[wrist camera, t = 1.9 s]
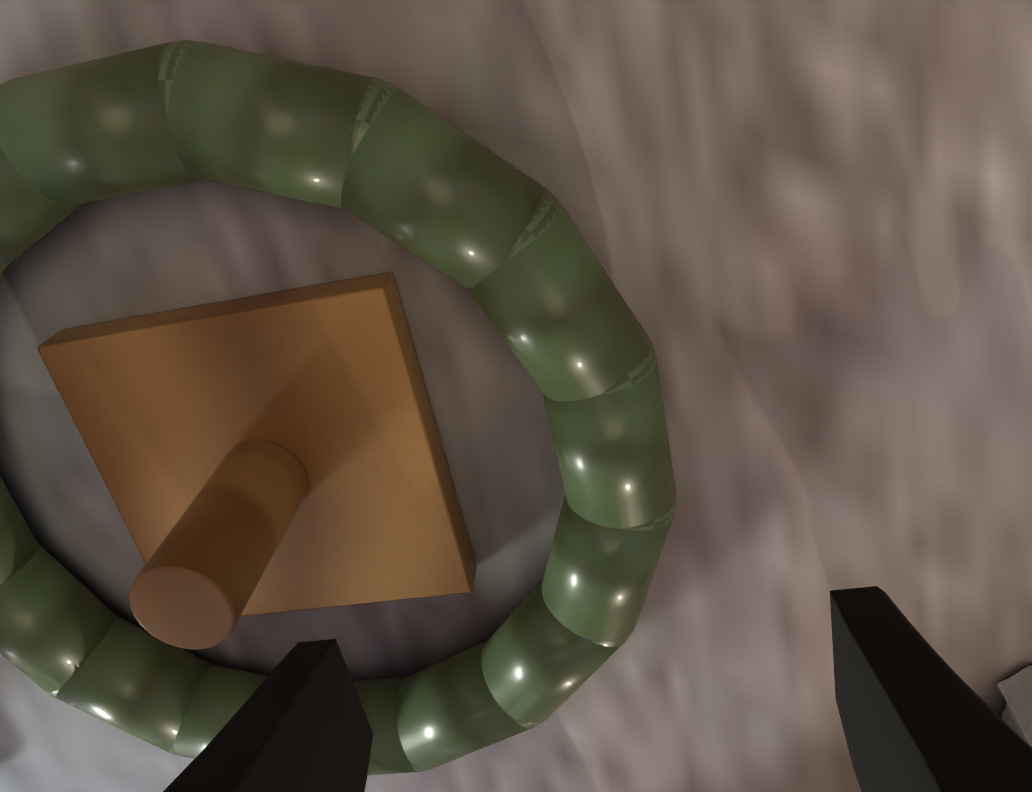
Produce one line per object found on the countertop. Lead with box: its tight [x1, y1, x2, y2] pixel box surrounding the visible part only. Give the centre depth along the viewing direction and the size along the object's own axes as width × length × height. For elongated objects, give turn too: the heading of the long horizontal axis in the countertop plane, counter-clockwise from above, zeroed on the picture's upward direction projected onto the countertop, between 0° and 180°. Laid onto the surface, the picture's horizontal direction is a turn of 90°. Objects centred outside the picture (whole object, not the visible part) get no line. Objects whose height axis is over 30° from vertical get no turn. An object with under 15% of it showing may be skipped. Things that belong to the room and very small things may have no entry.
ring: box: [0, 40, 676, 775], centre depth 19 cm, size 18×18×2 cm
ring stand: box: [38, 272, 477, 649], centre depth 18 cm, size 8×8×6 cm
